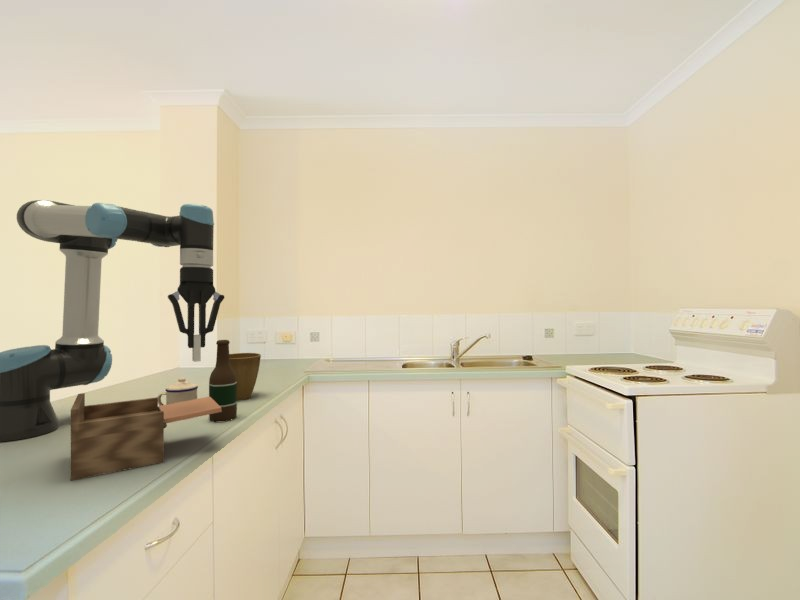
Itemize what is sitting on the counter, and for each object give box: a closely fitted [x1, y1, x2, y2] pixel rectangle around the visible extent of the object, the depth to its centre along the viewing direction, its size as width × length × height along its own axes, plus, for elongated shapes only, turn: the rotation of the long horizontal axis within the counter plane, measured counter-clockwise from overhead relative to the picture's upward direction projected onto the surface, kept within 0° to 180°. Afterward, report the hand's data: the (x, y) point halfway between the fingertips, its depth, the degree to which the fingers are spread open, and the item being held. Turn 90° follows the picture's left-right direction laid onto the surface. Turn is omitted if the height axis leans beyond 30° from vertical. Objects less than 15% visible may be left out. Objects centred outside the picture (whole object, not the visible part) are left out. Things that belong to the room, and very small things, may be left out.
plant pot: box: [229, 352, 262, 401], centre depth 151 cm, size 15×15×16 cm
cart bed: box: [70, 392, 168, 481], centre depth 92 cm, size 17×18×14 cm
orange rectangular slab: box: [158, 396, 222, 424], centre depth 100 cm, size 2×15×12 cm
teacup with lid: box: [156, 377, 199, 407], centre depth 128 cm, size 12×9×12 cm
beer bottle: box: [208, 339, 238, 423], centre depth 123 cm, size 8×8×24 cm
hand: (196, 360), depth 102 cm, fingers closed
